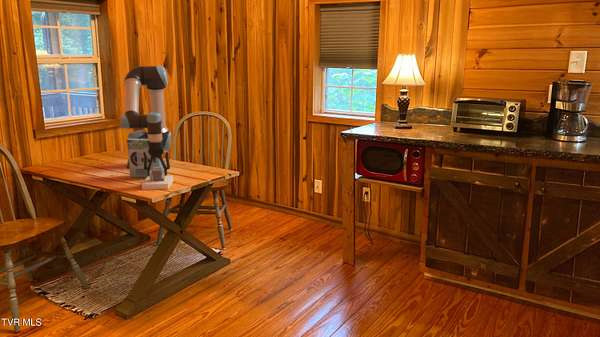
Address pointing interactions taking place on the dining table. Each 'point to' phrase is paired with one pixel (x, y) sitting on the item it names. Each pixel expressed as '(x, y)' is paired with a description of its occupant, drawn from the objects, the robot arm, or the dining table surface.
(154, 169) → the plug
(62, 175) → the dining table surface
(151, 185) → the socket
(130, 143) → the gum box
